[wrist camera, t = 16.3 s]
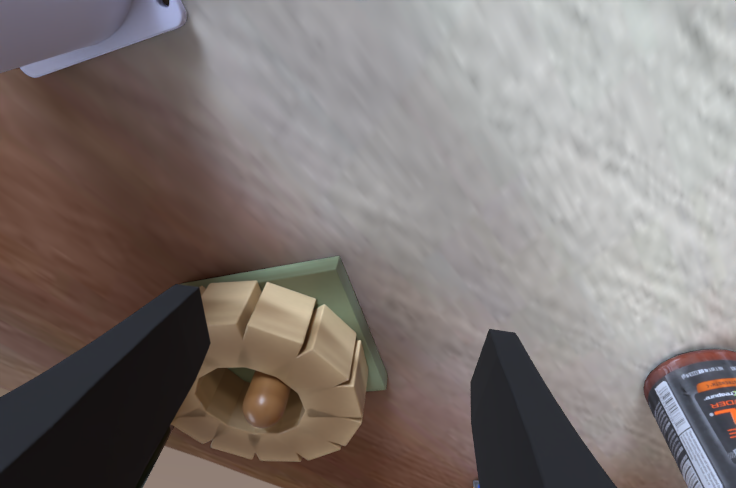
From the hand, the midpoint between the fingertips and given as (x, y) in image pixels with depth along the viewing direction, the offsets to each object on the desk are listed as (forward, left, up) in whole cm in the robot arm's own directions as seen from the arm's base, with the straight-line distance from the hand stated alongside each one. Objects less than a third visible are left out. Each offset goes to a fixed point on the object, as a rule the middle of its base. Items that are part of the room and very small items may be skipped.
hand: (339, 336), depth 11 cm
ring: (+10, -10, -9) cm, 17 cm away
